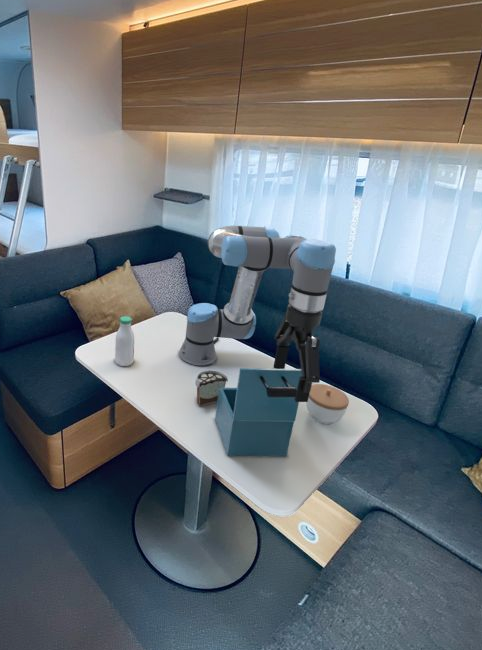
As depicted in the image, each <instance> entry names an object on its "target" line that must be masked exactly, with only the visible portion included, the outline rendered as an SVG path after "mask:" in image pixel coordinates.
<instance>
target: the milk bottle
mask: <svg viewBox="0 0 482 650" xmlns="http://www.w3.org/2000/svg"><path fill="white" fill-rule="evenodd" d="M134 333H135V332H134V331H133V328H132V318H131V316H126V315H125V316H121V317H119V328H118V330H117V332H116V334H115V342H114V343H115V345H114V351H115V352H114V361H115V364H116V365H118V366H121V367H129V366H131V365H133V363H134V359H135V334H134Z"/></svg>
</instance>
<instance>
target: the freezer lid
mask: <svg viewBox="0 0 482 650" xmlns="http://www.w3.org/2000/svg"><path fill="white" fill-rule="evenodd" d="M300 377H302V372H301V368H285V369H274V368H251V367H250V368H247V367H246V368H245V367H244V368H243V367H240V368H239V373H238V379H237V385H236V386H237V387H236V388H237V393H236V400H235V407H234V414H233V420H234V421H294V422H296V418H297V414H298V408H299V403H300V402H296V401H295V396H296V392H297V387H298V383H299V378H300Z"/></svg>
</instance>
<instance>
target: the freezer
mask: <svg viewBox="0 0 482 650" xmlns="http://www.w3.org/2000/svg"><path fill="white" fill-rule="evenodd" d="M236 393H237V387H225V388H220V387H219V393H218V400H217V402H216V409H215V415H214V416H215V417H214V421H215V424H216V427H217V429H218V432H219V436H220V438H221V441H222V444H223V447H224V449H225V453H226V456H228V457H287V456H288V453H289V452H288V451H289V447H290V442H291V437H292V433H293V428H294V424H295V421H234V420H233V414H234V407H235V400H236Z"/></svg>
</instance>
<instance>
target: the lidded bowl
mask: <svg viewBox="0 0 482 650" xmlns="http://www.w3.org/2000/svg"><path fill="white" fill-rule="evenodd" d="M305 403H306V408H307V409H306V410H307V411H308V412H309V414H310V416H311V417H312V418H313V419H314V420H315V421H316V422H318V423H319V424H323V425H331V424H334V423H336V422H339V421H340V420H342V418H343V417H344V416H345V414H346V412H347V409H348V407H349V403H350V400H349V398H348V396H347V395H346V394H345V392H343V391H342V390H340V389H339V388H337V387H334V386H332V385H328V384H323V383H316V384H315V383H314V384H312V386H311V390H310V393H309V397H308V402H305Z"/></svg>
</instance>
